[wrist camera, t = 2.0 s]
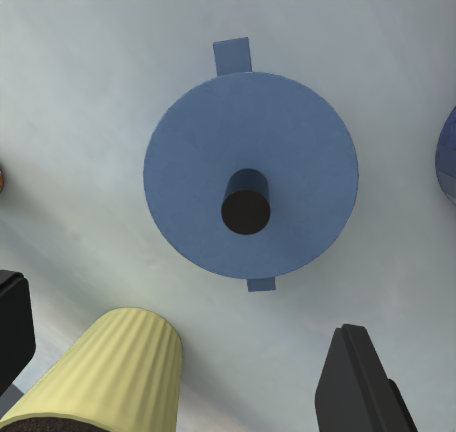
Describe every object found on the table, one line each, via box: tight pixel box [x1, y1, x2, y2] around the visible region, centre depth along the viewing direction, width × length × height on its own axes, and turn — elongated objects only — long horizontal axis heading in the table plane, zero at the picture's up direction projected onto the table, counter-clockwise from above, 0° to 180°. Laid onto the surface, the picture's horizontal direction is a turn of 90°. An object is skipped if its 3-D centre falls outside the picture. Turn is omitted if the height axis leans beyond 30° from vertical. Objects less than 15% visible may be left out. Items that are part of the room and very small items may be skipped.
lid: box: [143, 72, 358, 279], centre depth 23 cm, size 16×16×6 cm
